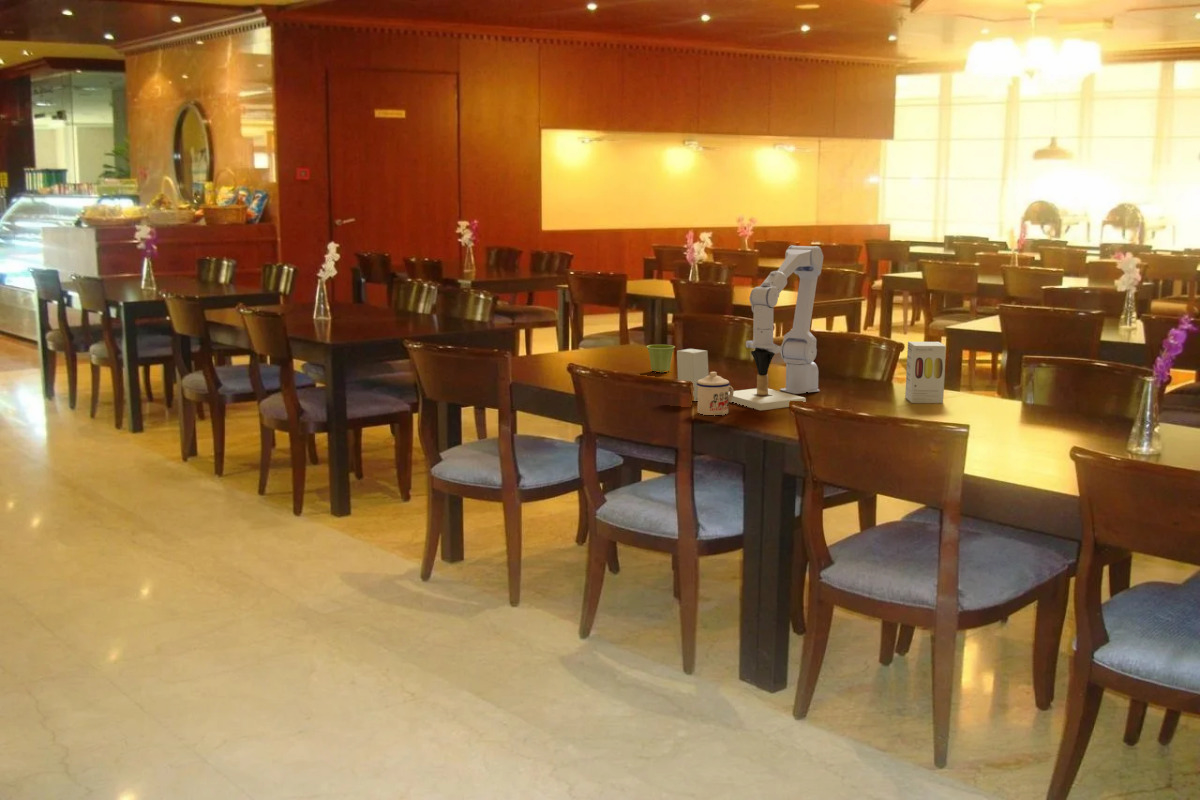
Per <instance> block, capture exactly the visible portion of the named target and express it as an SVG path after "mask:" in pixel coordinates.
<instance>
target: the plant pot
mask: <svg viewBox="0 0 1200 800" xmlns="http://www.w3.org/2000/svg"><path fill="white" fill-rule="evenodd" d="M646 348H647V351H648V354H649V362H650V369H651V370H653V371H659V372H660V373H664V371H669V370H670V371H671V365H672V364H671V363H672V358H673V353H674V349H675V348H676V346H675V345H670V344H649V345H647V346H646ZM670 371H669V372H670Z"/></svg>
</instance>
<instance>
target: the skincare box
mask: <svg viewBox="0 0 1200 800" xmlns="http://www.w3.org/2000/svg"><path fill="white" fill-rule="evenodd" d="M676 363H677V364H676V365H677V366H676V367H677V368H676V369H677V381H678V380H685V381H691V382H692V383H693V387H694V391H693V396H694V401H698V385H697V381H698V380H700V379H703V378H705V377H706V376H709V375H710V373H709V355H708V350H704V349H695V348H686V349H680V350H676Z"/></svg>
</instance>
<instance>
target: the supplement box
mask: <svg viewBox="0 0 1200 800" xmlns="http://www.w3.org/2000/svg"><path fill="white" fill-rule="evenodd" d="M906 352H907V357H906V375H905V393H904V394H905V396H904V397H905V398H906V400H907V401H909V403H911V404H944V396H945V395H944V393H945V378H946V376H945V375H946V359H947V357H946V355H947V346H946V345H945V344H943V343H942V342H940V341H908V342H907V351H906Z"/></svg>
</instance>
